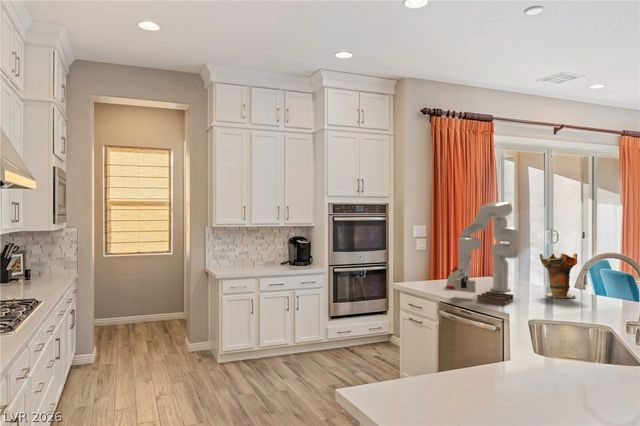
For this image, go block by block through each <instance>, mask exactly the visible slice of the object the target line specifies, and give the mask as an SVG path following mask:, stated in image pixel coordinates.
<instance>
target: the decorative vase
mask: <svg viewBox="0 0 640 426" xmlns="http://www.w3.org/2000/svg"><path fill="white" fill-rule="evenodd" d="M539 259H540V261H541V264H542V265H543V266H544V267H545V269H547V272H548V280H549V285H548V286H549V288H550V290H551V291H550V292H551V293H549V289H548V293H545V294H544V296H546V297H548V298H549V297H550V298H557V299H558V298H559V299H567V298H568V299H572V298H576V297H577V296H576V295H575V294H570V293H569V290H570V291H571V289H570V288H571V286H570V279H571V278H570V274H571V271H572V268H573V267H574V266H576V265H577V264H578V254H577V253H576V252H574V253H573V254H572V255H571V256H570V255H568V254H565V253H561V254H560V257H556V256H555V253H551V255H550V256H547V257H544V255H543V254H542V253H539Z"/></svg>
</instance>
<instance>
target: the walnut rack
mask: <svg viewBox="0 0 640 426" xmlns="http://www.w3.org/2000/svg"><path fill="white" fill-rule="evenodd" d="M476 300H477V301H476V302H477V303H482V302H483V303H482V304H489V303H491V304H490V305H497V304H500V305H499V306H504V305H505V306H508V305H509V304H511V303H514V294H510V293H503V292H502V293H501V292H493V291H485V293H483V292H481V294H477V295H476Z"/></svg>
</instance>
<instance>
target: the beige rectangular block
mask: <svg viewBox="0 0 640 426" xmlns="http://www.w3.org/2000/svg"><path fill="white" fill-rule="evenodd" d="M454 291H456V292H462V293H463V292H465V293H473V294H475V293H476V280H474V279H473V280H472V279H471V280H470V279H469V280H466V288H461V279H455V289H454Z"/></svg>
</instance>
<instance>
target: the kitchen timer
mask: <svg viewBox="0 0 640 426" xmlns="http://www.w3.org/2000/svg"><path fill="white" fill-rule="evenodd" d="M452 269H453V270H452ZM450 271H451V273H450V274H449V275H448V277H447V280H446V288H447V289H451V290H452V289H453V290H455V279H460V276H458V265H457V266H456V265H455V267H453V268H451V269H450Z"/></svg>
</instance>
